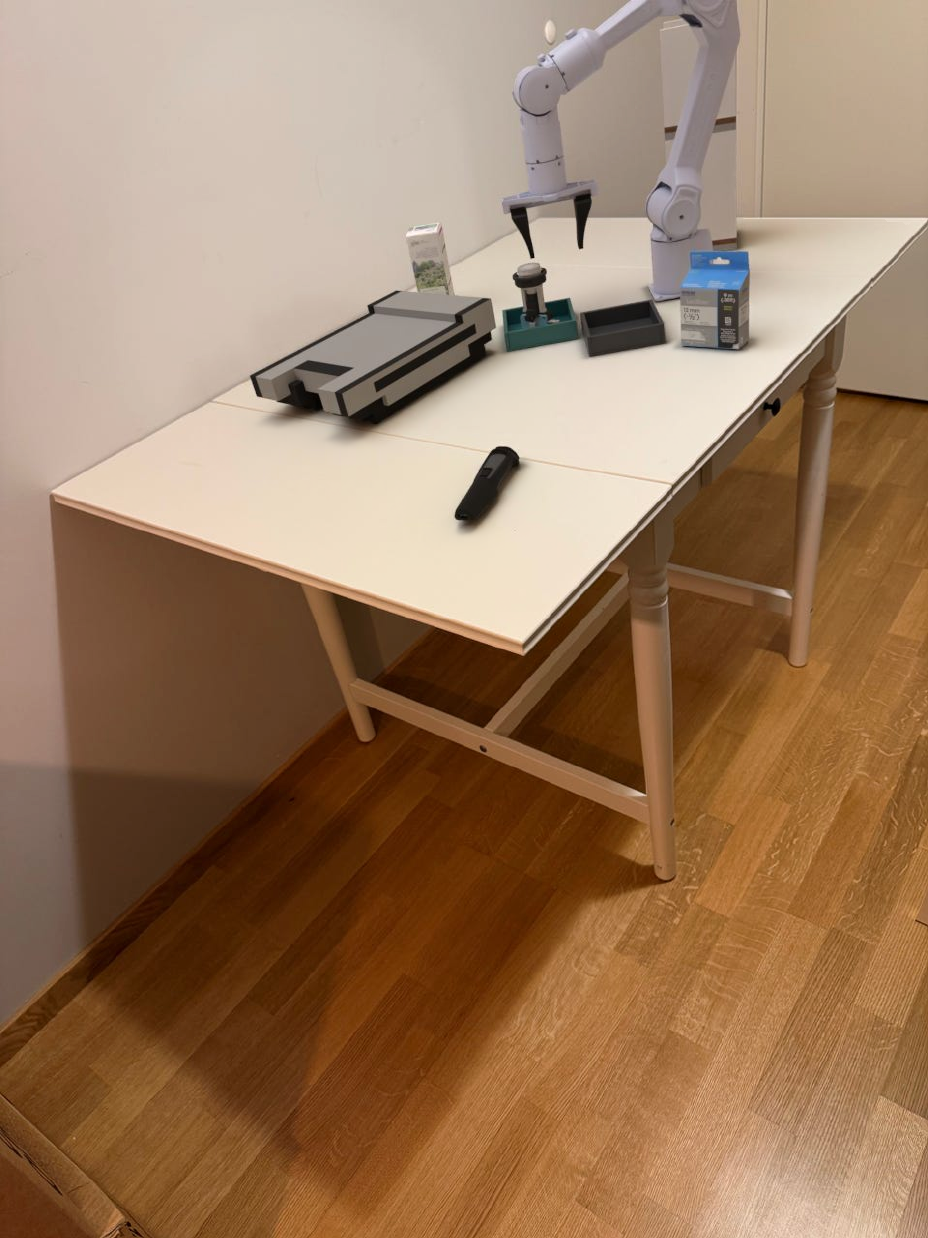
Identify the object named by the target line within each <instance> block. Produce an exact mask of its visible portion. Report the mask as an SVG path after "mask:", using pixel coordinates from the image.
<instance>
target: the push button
mask: <svg viewBox="0 0 928 1238" xmlns="http://www.w3.org/2000/svg"><path fill="white" fill-rule="evenodd" d="M516 270H517V271H516V272H515V273H513V274H512V280H513V281H514V285H515V287H516V288H518V289H520V293H521V299H522V300H521V301H522V306H523V308H524V309H523V312H525V313H524V314H522V315H521V316H520V318H521V325H522V329H525V328H531V327H536V326H542V325H547V324H552V322H555V321H556V323H557V322H559V320H553V318H552V312H551V311H547V308H545V302H546V301H545V295H544V287H543V284H544V283H546V282H547V274H548V271H547V269H546V268H545V267H541V263H540V262H528V263H524V264H521V265H519V266H518V267H517V268H516Z"/></svg>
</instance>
